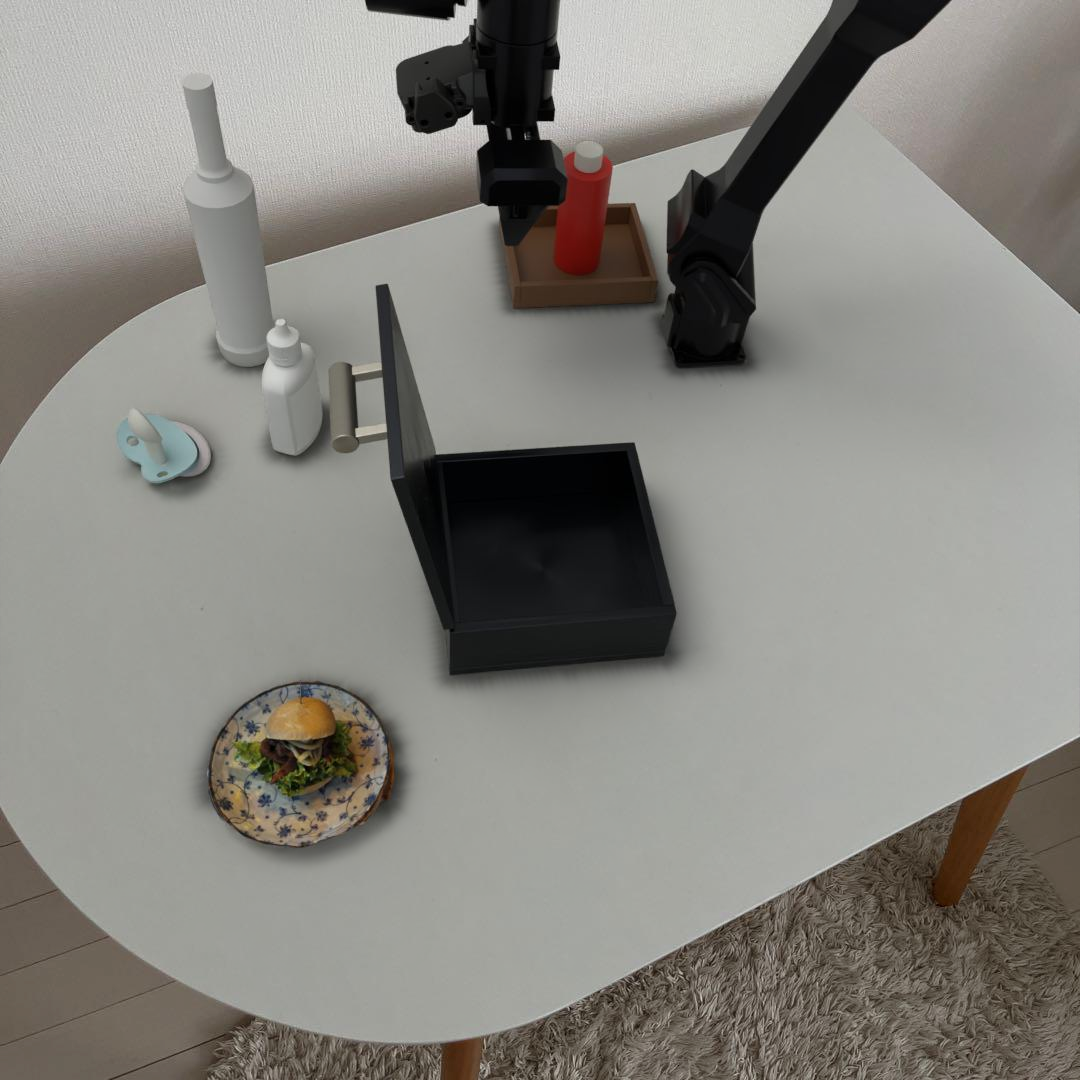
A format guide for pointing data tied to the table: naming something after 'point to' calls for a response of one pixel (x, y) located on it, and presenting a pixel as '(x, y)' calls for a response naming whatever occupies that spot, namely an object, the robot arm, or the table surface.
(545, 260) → the tray
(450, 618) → the door
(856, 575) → the table surface
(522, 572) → the black open box
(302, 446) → the eye dropper bottle
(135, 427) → the pacifier
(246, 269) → the bottle
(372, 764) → the burger
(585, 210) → the ketchup
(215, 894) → the table surface
